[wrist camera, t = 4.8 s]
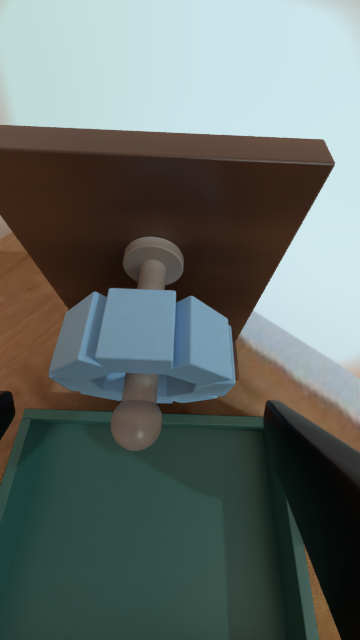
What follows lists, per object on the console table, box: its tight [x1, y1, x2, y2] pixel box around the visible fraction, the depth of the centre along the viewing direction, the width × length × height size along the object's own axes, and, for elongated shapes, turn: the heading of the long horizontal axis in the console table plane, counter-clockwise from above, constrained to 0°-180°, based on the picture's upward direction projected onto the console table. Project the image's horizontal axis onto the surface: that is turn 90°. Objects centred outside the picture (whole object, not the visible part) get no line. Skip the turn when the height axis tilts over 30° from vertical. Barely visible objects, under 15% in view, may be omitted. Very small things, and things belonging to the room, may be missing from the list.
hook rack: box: [0, 125, 335, 451], centre depth 13 cm, size 10×12×15 cm
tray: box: [0, 409, 319, 640], centre depth 13 cm, size 13×16×3 cm
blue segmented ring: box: [49, 288, 236, 404], centre depth 11 cm, size 2×7×7 cm, turn 88°
